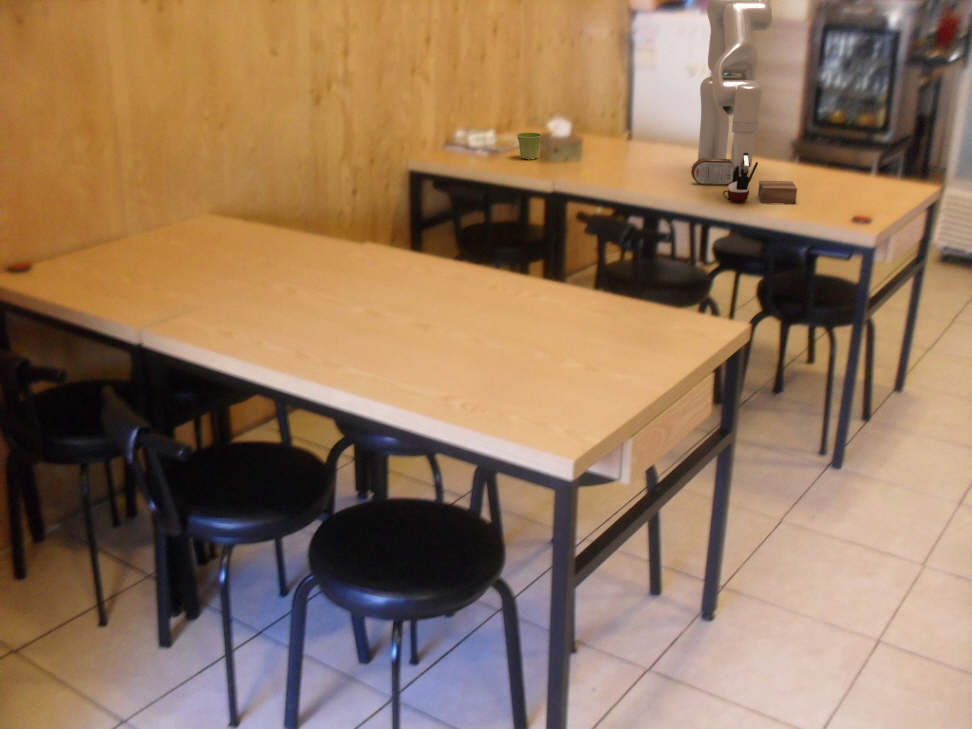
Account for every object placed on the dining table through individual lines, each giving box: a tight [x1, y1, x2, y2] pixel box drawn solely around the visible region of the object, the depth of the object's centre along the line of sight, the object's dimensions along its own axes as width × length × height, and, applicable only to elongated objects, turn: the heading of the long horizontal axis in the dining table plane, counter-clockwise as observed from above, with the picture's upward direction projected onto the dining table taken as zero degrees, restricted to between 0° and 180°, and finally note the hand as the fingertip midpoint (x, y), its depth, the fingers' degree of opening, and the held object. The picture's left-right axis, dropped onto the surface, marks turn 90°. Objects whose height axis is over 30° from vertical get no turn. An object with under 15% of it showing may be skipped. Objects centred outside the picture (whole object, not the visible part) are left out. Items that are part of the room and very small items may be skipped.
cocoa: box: [722, 161, 759, 204], centre depth 313 cm, size 10×6×12 cm, turn 62°
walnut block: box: [757, 180, 798, 205], centre depth 317 cm, size 10×10×5 cm
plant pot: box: [516, 131, 543, 160], centre depth 375 cm, size 9×9×9 cm
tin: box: [690, 158, 736, 186], centre depth 335 cm, size 15×3×8 cm, turn 84°
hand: (739, 186), depth 314 cm, fingers open, 6 cm apart
